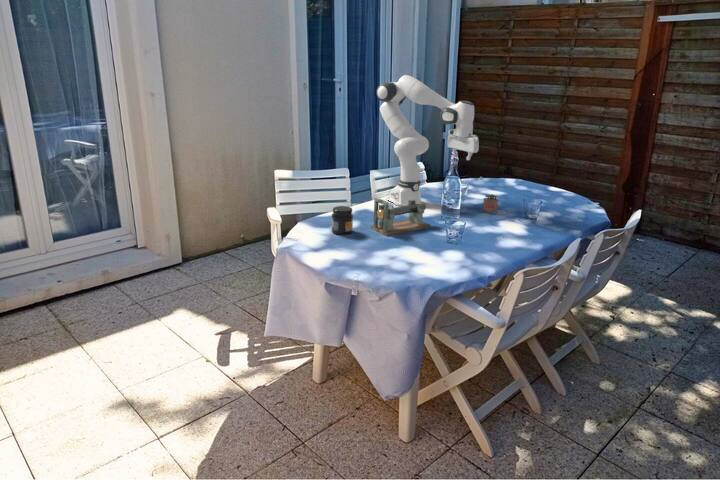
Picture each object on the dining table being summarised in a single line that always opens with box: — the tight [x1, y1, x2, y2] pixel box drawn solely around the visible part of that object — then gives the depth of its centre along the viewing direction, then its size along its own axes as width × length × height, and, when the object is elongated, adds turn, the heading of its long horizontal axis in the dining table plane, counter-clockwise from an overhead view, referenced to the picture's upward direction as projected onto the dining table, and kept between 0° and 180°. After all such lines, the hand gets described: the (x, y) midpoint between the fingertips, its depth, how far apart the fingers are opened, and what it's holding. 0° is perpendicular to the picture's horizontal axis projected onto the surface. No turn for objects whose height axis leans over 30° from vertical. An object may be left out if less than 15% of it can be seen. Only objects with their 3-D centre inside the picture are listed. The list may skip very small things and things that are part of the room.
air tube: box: [377, 202, 427, 220], centre depth 277 cm, size 28×4×4 cm, turn 125°
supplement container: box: [331, 205, 354, 236], centre depth 270 cm, size 10×10×12 cm
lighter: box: [482, 193, 499, 214], centre depth 311 cm, size 8×3×10 cm, turn 84°
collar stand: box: [370, 197, 431, 237], centre depth 277 cm, size 13×28×16 cm, turn 125°
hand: (461, 158), depth 296 cm, fingers open, 8 cm apart
